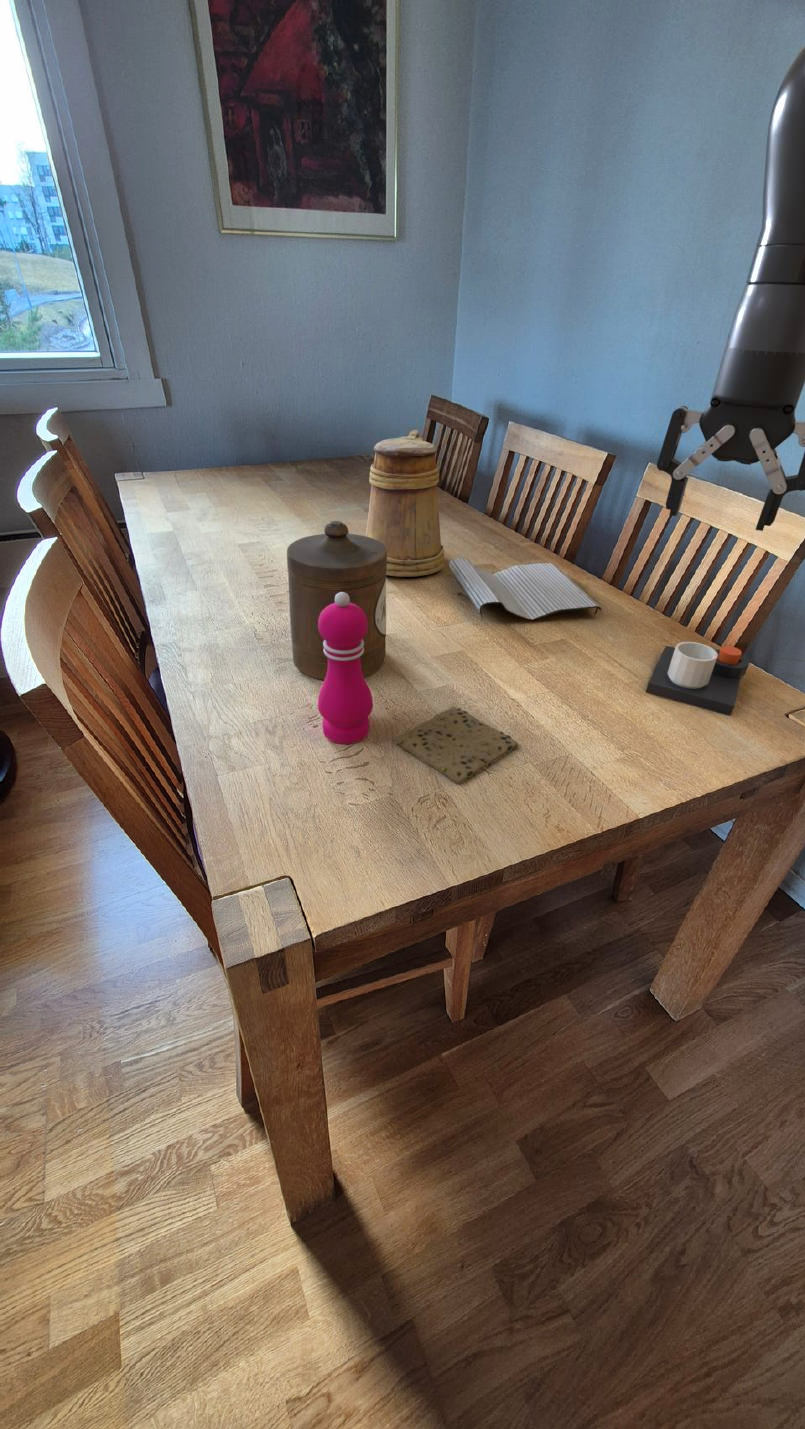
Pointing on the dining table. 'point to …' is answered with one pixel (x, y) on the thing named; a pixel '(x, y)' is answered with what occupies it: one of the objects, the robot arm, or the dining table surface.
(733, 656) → the button
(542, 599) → the mat
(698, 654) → the white cup
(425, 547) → the tankard
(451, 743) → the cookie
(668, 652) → the scale
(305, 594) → the wooden container
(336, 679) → the pepper mill
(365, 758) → the dining table surface
